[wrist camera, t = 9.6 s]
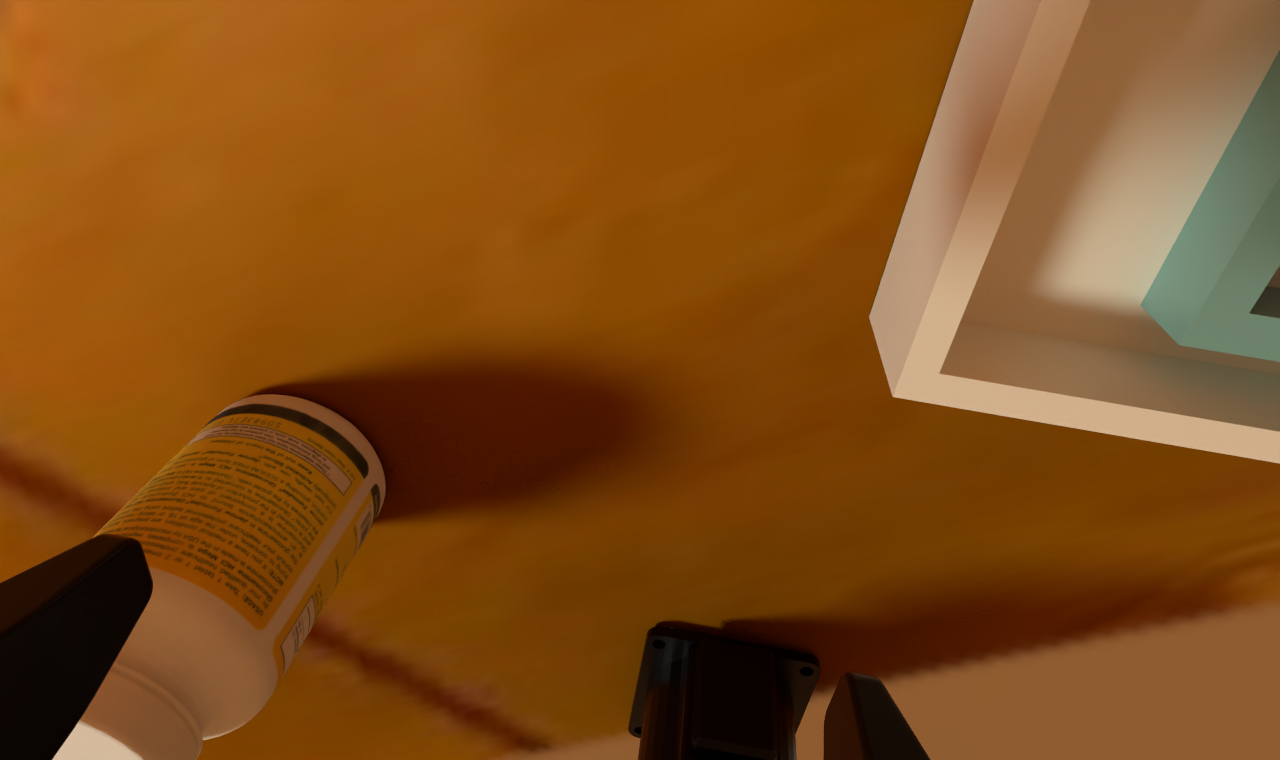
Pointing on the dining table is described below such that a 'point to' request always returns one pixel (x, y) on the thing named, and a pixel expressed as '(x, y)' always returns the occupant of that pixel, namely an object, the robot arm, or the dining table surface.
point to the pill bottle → (231, 574)
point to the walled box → (1099, 225)
